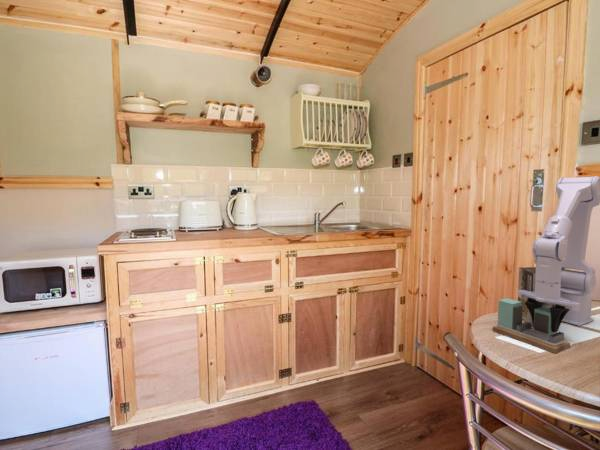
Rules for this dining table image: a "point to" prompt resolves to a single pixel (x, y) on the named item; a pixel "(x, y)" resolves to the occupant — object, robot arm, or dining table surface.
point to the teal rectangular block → (543, 320)
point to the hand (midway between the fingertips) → (545, 328)
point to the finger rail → (525, 328)
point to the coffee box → (528, 284)
